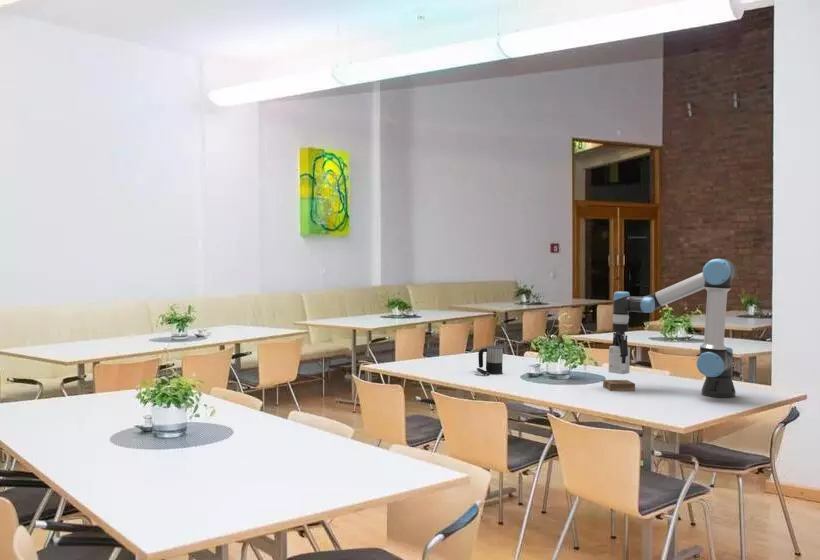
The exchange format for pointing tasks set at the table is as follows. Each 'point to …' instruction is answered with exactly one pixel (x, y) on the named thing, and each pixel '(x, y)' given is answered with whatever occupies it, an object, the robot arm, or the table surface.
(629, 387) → the walnut block
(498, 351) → the milk frother
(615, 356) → the small box
